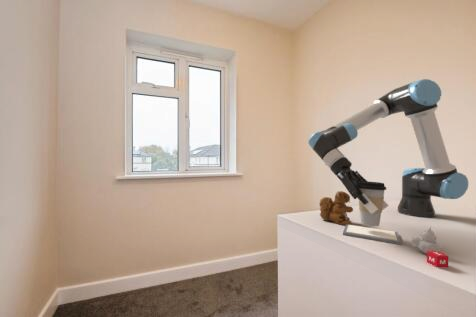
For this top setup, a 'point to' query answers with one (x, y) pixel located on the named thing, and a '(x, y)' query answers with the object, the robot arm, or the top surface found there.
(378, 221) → the coffee cup
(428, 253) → the dice
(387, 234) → the picture frame
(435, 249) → the light grey lumpy piece
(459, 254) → the top surface
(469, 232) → the top surface
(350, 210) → the stuffed squirrel
